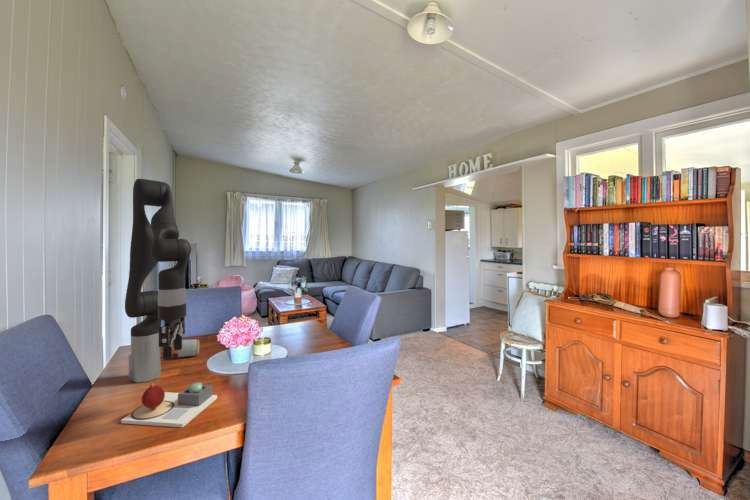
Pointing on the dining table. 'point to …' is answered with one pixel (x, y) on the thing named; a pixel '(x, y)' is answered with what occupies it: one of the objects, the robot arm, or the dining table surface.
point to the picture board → (167, 412)
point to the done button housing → (194, 396)
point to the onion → (153, 396)
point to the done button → (195, 387)
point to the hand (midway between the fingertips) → (173, 354)
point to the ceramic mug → (189, 348)
